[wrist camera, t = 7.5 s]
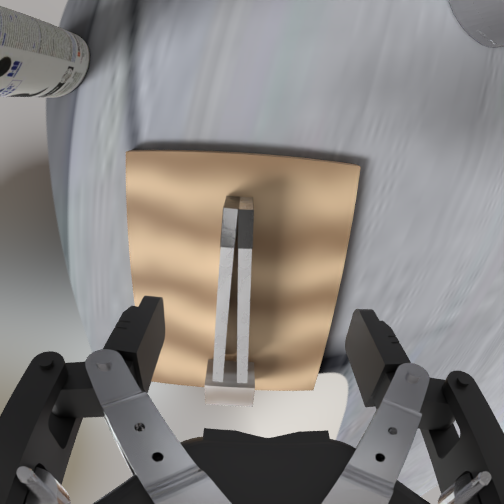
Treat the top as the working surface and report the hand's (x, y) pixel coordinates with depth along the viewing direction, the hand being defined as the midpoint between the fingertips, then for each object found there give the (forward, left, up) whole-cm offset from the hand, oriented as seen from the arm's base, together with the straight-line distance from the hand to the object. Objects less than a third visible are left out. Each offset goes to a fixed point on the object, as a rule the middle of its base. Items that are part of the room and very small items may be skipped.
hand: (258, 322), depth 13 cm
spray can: (-14, -19, -17) cm, 29 cm away
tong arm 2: (+7, 0, -15) cm, 17 cm away
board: (+8, -1, -17) cm, 19 cm away
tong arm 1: (+7, -2, -15) cm, 17 cm away
